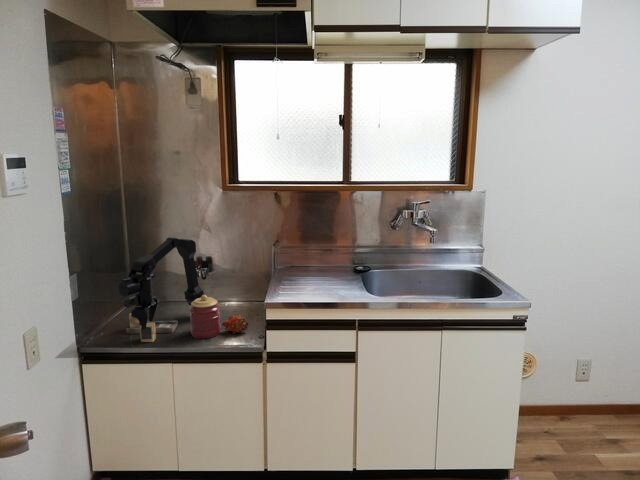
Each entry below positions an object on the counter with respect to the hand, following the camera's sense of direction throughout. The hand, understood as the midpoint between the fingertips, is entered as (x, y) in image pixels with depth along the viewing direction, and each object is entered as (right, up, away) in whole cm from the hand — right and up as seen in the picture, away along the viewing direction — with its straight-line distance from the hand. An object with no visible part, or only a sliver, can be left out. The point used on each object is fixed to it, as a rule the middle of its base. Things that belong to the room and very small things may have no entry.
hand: (147, 325), depth 191 cm
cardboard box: (0, -7, +1) cm, 7 cm away
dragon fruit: (+36, -5, +9) cm, 37 cm away
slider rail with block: (-3, -4, +13) cm, 14 cm away
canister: (+23, -5, +9) cm, 25 cm away
